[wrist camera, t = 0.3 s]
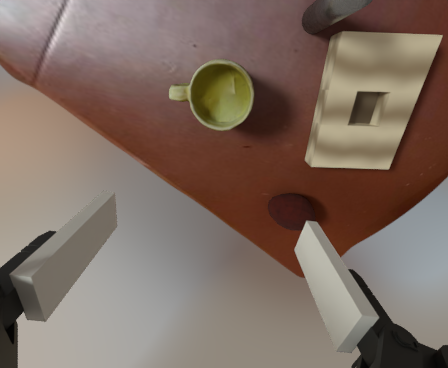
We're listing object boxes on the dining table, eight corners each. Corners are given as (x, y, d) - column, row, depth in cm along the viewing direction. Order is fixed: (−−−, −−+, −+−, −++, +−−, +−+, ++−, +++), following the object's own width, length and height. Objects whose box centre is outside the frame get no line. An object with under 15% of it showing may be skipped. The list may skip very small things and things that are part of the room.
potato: (298, 223, 47) (308, 242, 42) (258, 209, 46) (263, 226, 40) (317, 197, 45) (330, 214, 39) (274, 181, 43) (282, 195, 37)
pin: (304, 3, 30) (348, -41, 20) (329, 4, 30) (386, -39, 20) (299, 33, 32) (337, 8, 21) (323, 34, 32) (373, 9, 21)
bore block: (330, 36, 32) (342, 31, 29) (421, 39, 32) (442, 35, 29) (304, 160, 41) (311, 166, 38) (376, 162, 41) (388, 169, 38)
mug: (270, 61, 32) (261, 78, 25) (249, 121, 39) (237, 148, 32) (196, 35, 33) (165, 45, 25) (188, 99, 40) (163, 121, 32)
